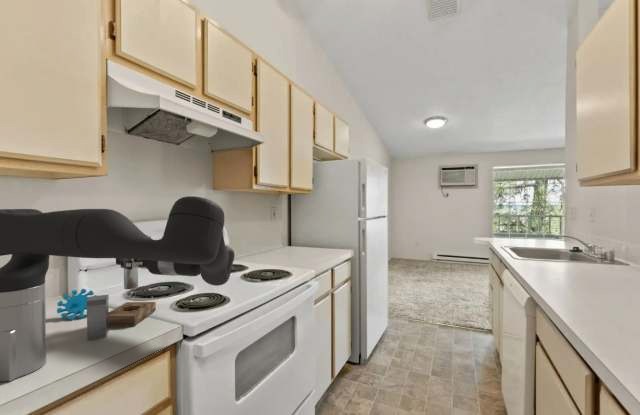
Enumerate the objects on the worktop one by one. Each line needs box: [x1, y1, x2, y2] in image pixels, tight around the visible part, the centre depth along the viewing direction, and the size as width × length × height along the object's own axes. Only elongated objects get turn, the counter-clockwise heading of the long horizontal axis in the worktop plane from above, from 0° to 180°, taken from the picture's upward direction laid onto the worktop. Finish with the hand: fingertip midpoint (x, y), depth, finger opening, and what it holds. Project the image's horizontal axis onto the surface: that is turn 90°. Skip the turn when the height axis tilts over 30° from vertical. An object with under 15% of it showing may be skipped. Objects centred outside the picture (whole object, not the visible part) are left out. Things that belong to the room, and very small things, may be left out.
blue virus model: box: [56, 288, 98, 321], centre depth 95 cm, size 11×6×10 cm
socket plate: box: [108, 301, 157, 328], centre depth 92 cm, size 12×9×3 cm
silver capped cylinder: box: [123, 259, 139, 290], centre depth 92 cm, size 4×4×14 cm
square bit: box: [86, 294, 110, 341], centre depth 80 cm, size 4×4×10 cm
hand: (123, 259), depth 93 cm, fingers closed on silver capped cylinder, 3 cm apart
